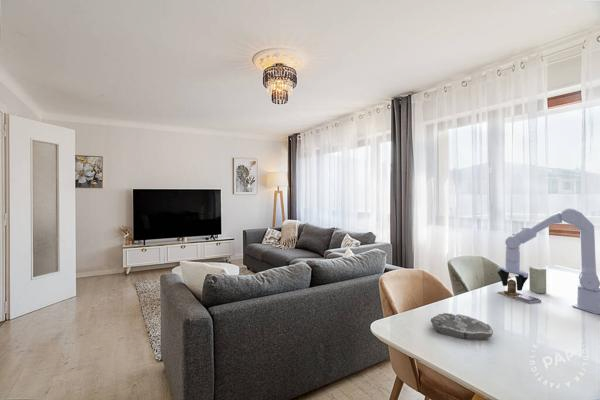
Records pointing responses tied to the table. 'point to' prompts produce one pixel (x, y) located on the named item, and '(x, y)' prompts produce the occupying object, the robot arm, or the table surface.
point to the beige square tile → (508, 295)
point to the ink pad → (528, 299)
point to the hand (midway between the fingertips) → (512, 288)
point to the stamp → (511, 288)
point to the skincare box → (537, 279)
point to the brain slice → (461, 326)
